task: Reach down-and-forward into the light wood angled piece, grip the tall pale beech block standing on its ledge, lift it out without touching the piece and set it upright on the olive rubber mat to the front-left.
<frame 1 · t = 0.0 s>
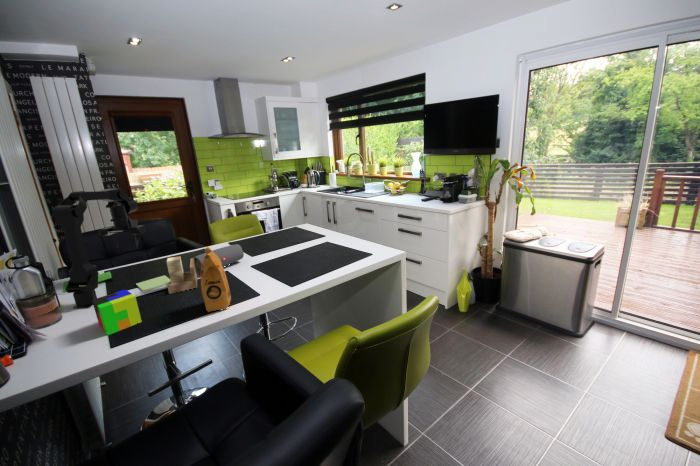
hand: (127, 247, 150), 15 cm above the table, tool pointing down, fingers open, 9 cm apart
bluetooth speaker: (221, 268, 160), on the table
light wood angled piece: (179, 286, 140), on the table
coffee package: (218, 305, 121), on the table
puzzle toy: (120, 324, 111), on the table
olive mat: (154, 283, 144), on the table
beech block: (178, 282, 139), point 2 cm above the table, touching light wood angled piece
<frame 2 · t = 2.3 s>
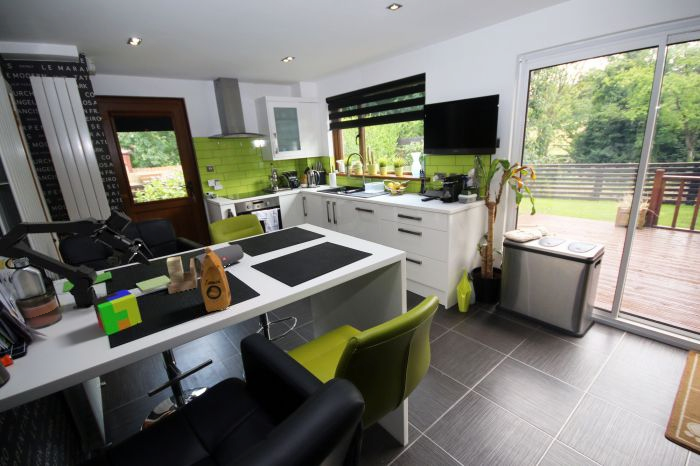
hand: (151, 261, 133), 13 cm above the table, tool tilted 45°, fingers open, 9 cm apart
nothing on the table moved.
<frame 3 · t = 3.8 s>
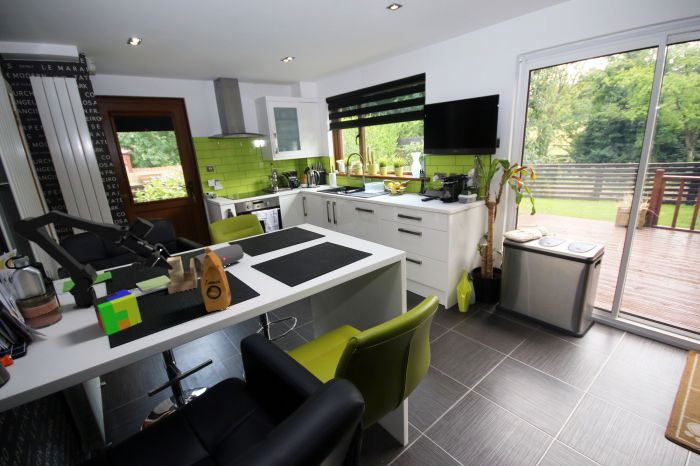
hand: (173, 265, 137), 10 cm above the table, tool tilted 45°, fingers open, 9 cm apart
nothing on the table moved.
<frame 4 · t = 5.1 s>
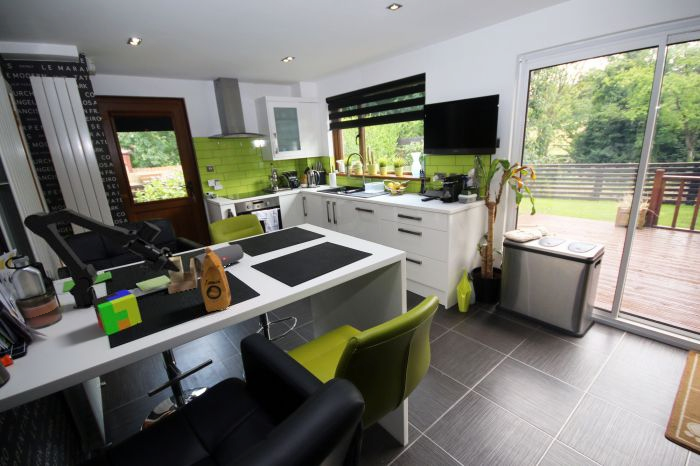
hand: (179, 269, 138), 8 cm above the table, tool tilted 45°, fingers closed on beech block, 5 cm apart
beech block: (178, 282, 139), point 2 cm above the table, touching gripper, light wood angled piece
everything else where it was.
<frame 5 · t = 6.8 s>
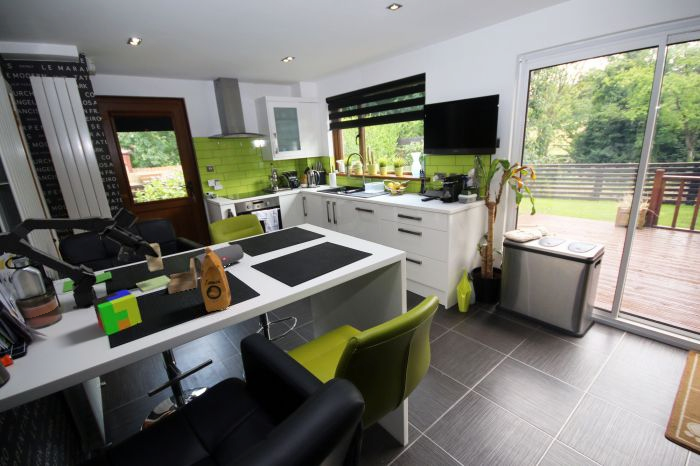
hand: (156, 255, 141), 13 cm above the table, tool tilted 45°, fingers closed on beech block, 5 cm apart
beech block: (155, 268, 141), point 8 cm above the table, touching gripper
everything else where it was.
when the fingers open (8 cm above the table, at t = 8.5 s): beech block drops 1 cm, resting on olive mat.
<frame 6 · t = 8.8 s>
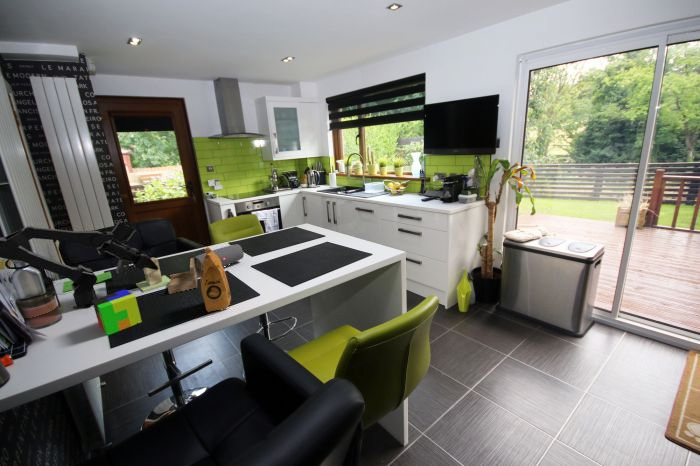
hand: (154, 267, 143), 8 cm above the table, tool tilted 45°, fingers open, 8 cm apart
beech block: (154, 282, 144), point 1 cm above the table, touching olive mat
everything else where it was.
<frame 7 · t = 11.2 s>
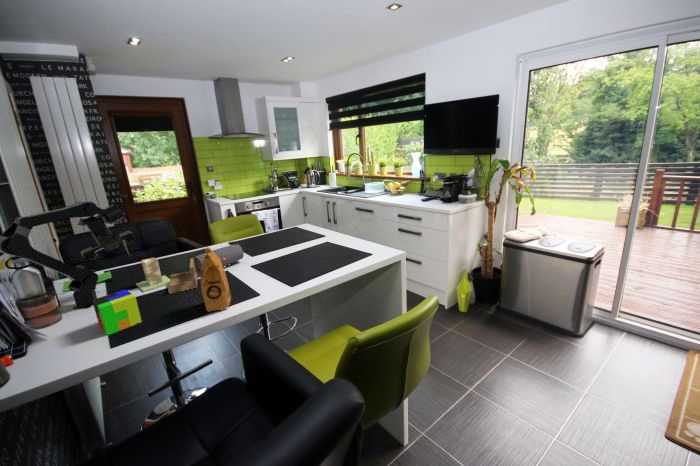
hand: (119, 261, 136), 13 cm above the table, tool tilted 15°, fingers open, 9 cm apart
nothing on the table moved.
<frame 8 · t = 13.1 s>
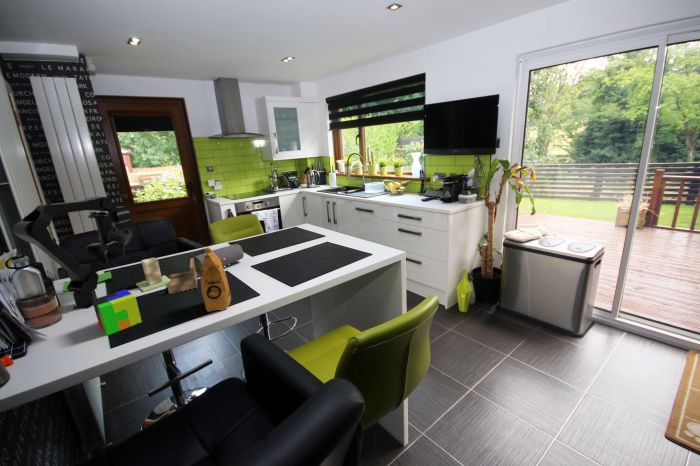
hand: (114, 261, 137), 13 cm above the table, tool pointing down, fingers open, 9 cm apart
nothing on the table moved.
at the end: beech block inside the target area on the olive mat (0.1 cm from its centre), point 0.6 cm above the olive mat's base; beech block tilted 0°; the gripper is holding nothing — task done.
